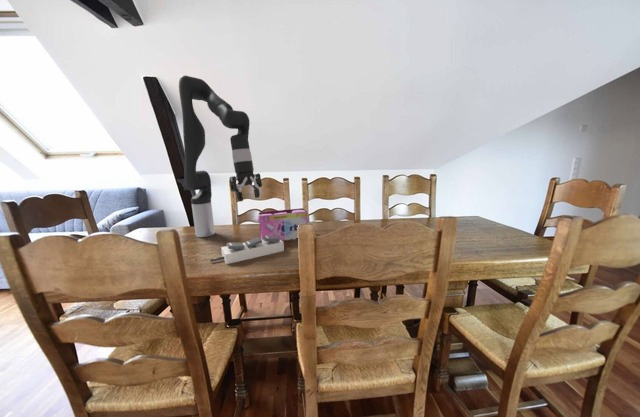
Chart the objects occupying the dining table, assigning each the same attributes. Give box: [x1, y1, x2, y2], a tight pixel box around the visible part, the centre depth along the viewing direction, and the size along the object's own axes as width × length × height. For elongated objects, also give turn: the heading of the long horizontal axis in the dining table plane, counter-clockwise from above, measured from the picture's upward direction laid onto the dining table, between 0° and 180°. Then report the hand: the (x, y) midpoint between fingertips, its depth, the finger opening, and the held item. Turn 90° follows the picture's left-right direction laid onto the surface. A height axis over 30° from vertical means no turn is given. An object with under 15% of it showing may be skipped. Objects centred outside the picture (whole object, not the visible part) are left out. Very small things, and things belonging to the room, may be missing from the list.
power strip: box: [209, 238, 285, 265], centre depth 106 cm, size 9×29×5 cm, turn 121°
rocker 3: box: [263, 236, 280, 242], centre depth 109 cm, size 5×6×1 cm
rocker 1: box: [226, 242, 245, 249], centre depth 101 cm, size 5×6×1 cm
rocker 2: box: [244, 236, 262, 248], centre depth 105 cm, size 5×6×1 cm
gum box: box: [257, 207, 309, 242], centre depth 124 cm, size 24×8×14 cm, turn 109°
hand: (249, 199), depth 107 cm, fingers open, 8 cm apart
